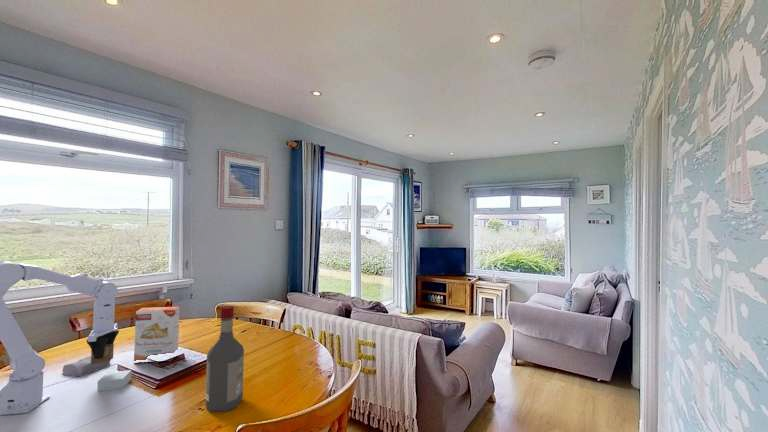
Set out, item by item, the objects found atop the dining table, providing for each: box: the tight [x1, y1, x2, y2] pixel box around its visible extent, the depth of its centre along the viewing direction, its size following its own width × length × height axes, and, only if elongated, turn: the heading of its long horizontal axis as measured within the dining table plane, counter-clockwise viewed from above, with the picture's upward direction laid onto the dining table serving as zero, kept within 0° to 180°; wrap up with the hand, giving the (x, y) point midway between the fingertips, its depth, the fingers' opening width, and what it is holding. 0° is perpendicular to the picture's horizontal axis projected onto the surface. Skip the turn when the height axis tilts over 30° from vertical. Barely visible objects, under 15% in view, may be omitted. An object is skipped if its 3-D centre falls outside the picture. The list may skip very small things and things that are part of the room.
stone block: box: [62, 355, 111, 377], centre depth 129 cm, size 12×5×10 cm
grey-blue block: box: [97, 369, 132, 392], centre depth 117 cm, size 7×7×4 cm
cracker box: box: [133, 306, 180, 362], centre depth 138 cm, size 14×6×21 cm, turn 105°
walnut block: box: [90, 343, 115, 364], centre depth 118 cm, size 4×4×5 cm
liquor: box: [204, 305, 245, 413], centre depth 106 cm, size 9×9×30 cm
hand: (102, 355), depth 118 cm, fingers closed on walnut block, 4 cm apart
